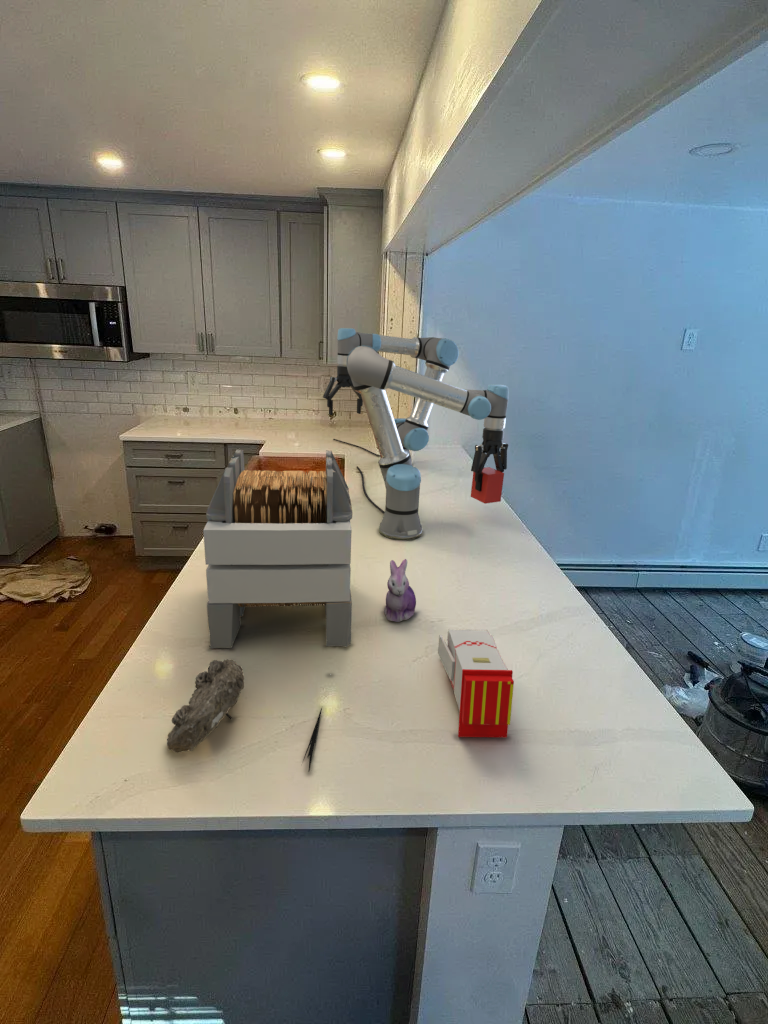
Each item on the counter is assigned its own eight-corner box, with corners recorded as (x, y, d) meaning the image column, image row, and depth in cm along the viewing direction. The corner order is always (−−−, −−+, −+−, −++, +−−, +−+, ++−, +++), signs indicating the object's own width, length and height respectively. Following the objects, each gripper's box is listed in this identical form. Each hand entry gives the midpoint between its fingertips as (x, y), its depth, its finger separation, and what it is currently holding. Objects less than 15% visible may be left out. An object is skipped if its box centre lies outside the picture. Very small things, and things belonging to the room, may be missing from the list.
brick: (500, 501, 212) (504, 473, 208) (484, 503, 208) (488, 474, 204) (486, 494, 219) (489, 467, 215) (470, 496, 215) (473, 468, 212)
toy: (488, 613, 130) (523, 677, 101) (484, 667, 133) (517, 744, 104) (435, 612, 130) (455, 676, 101) (432, 666, 133) (451, 743, 103)
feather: (331, 679, 122) (336, 673, 122) (307, 777, 96) (313, 769, 95) (324, 675, 122) (329, 669, 121) (298, 772, 95) (304, 764, 95)
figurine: (392, 627, 141) (395, 572, 136) (374, 608, 149) (376, 556, 144) (425, 619, 145) (429, 566, 140) (405, 601, 154) (408, 550, 149)
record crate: (229, 582, 160) (221, 440, 146) (345, 581, 163) (348, 442, 150) (207, 650, 128) (194, 478, 114) (351, 647, 132) (356, 479, 118)
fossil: (192, 660, 117) (244, 628, 112) (224, 691, 120) (276, 661, 115) (142, 746, 98) (202, 712, 93) (182, 779, 101) (242, 748, 96)
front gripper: (508, 425, 212) (501, 483, 220) (464, 427, 203) (458, 488, 210) (522, 429, 206) (514, 489, 214) (477, 432, 197) (470, 494, 204)
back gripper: (368, 364, 255) (366, 411, 263) (315, 364, 244) (315, 413, 252) (375, 366, 249) (373, 414, 256) (322, 366, 238) (321, 416, 245)
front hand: (486, 488), depth 212 cm, fingers closed on brick, 7 cm apart
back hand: (344, 414), depth 254 cm, fingers open, 13 cm apart
